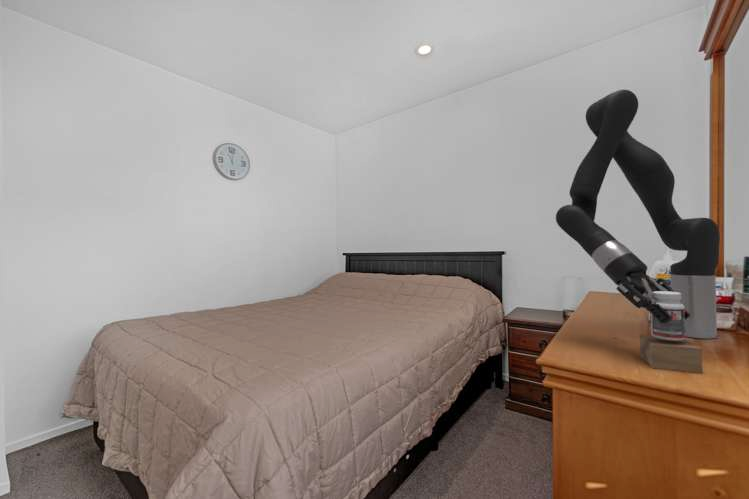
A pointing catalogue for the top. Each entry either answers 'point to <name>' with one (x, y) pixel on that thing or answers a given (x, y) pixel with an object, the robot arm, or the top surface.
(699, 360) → the walnut block
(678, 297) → the pill bottle
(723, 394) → the top surface
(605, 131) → the robot arm
